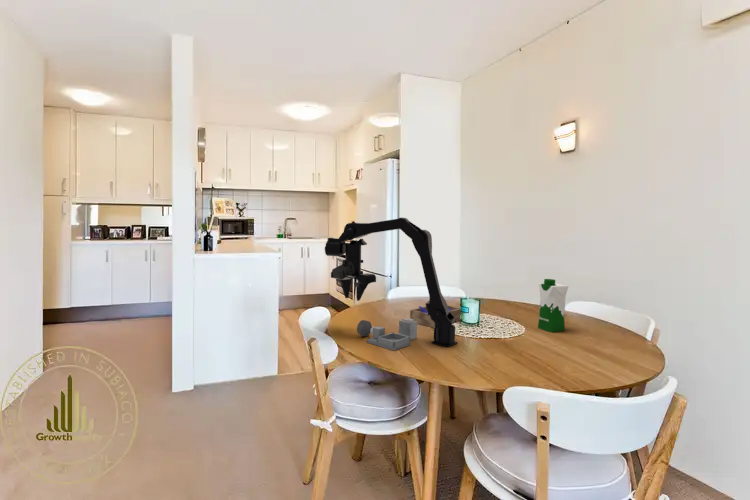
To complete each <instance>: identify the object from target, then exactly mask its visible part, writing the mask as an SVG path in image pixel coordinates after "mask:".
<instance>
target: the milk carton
mask: <svg viewBox="0 0 750 500" xmlns="http://www.w3.org/2000/svg"><path fill="white" fill-rule="evenodd" d="M538 287H539V288H538V289H539V293H540V295H539V313H538V315H539V316H538V322H537V329H541V330H542V331H546V332H549V333H558V332H565V331H566V328H565V327H566V325H565V313H566V312H565V311H566V296H567V292H568V290H569V285H566V284H560V283H556V279H552V278H545V279H544V281H543V283H538Z"/></svg>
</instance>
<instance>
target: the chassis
mask: <svg viewBox="0 0 750 500" xmlns="http://www.w3.org/2000/svg"><path fill="white" fill-rule="evenodd" d="M370 335H372V337H371V338H368V339H366V343H367V344H370V345H374V346H378V347H381V348H384V349H387V350H390V351H397V350H400V349H401V348H402V349H403V348H405V347H408V346H411V340H410V337H408V336H404V335H401V334H399V333H397V332H390V333H387V334H386V328H385V327H383V326H380V325H377V326H372V328H371V330H370Z"/></svg>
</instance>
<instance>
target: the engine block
mask: <svg viewBox="0 0 750 500" xmlns="http://www.w3.org/2000/svg"><path fill="white" fill-rule="evenodd" d="M398 321H399V322H398V334H401V335H404V336H408V337H410V341H412V340H415V339H417V338H418V335H417V334H418V324H417V322H416V321H414V319H410V317H404V318H402V319H401V320H398Z"/></svg>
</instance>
